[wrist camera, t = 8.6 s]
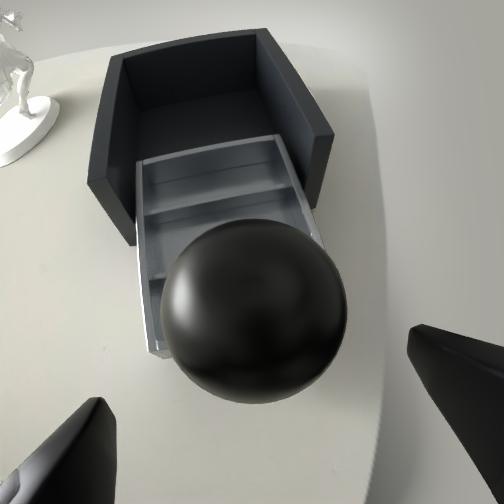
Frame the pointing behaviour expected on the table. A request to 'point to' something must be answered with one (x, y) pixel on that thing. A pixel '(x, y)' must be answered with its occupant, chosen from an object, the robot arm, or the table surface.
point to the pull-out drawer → (236, 270)
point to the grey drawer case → (201, 112)
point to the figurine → (21, 101)
